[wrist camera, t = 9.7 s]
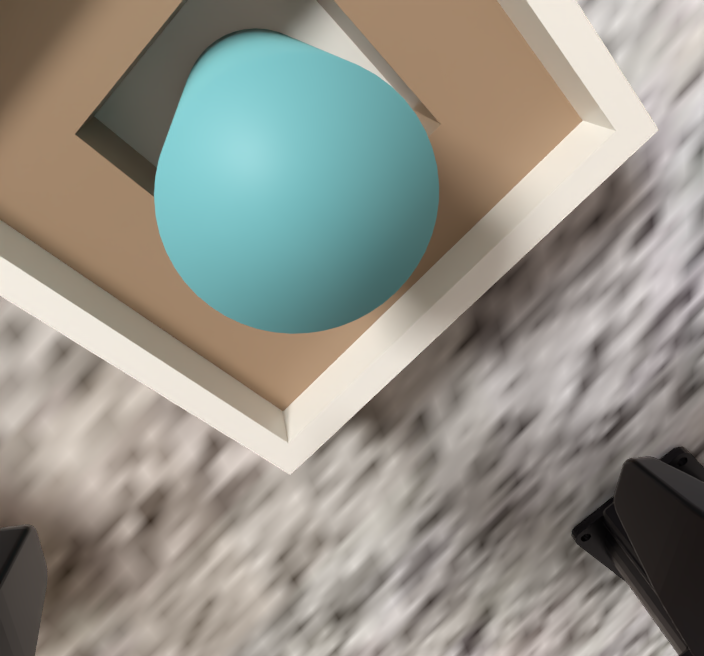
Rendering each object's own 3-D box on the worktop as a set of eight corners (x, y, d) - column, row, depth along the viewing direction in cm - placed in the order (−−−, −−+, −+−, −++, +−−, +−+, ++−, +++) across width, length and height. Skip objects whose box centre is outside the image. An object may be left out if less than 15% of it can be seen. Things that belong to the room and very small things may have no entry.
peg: (334, 181, 18) (429, 322, 10) (192, 188, 17) (175, 345, 9) (333, 28, 16) (450, 51, 8) (174, 28, 15) (130, 53, 7)
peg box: (556, 101, 19) (658, 129, 15) (274, 380, 22) (290, 475, 17) (230, -350, 13) (237, -528, 9) (-103, 114, 16) (-225, 156, 11)
